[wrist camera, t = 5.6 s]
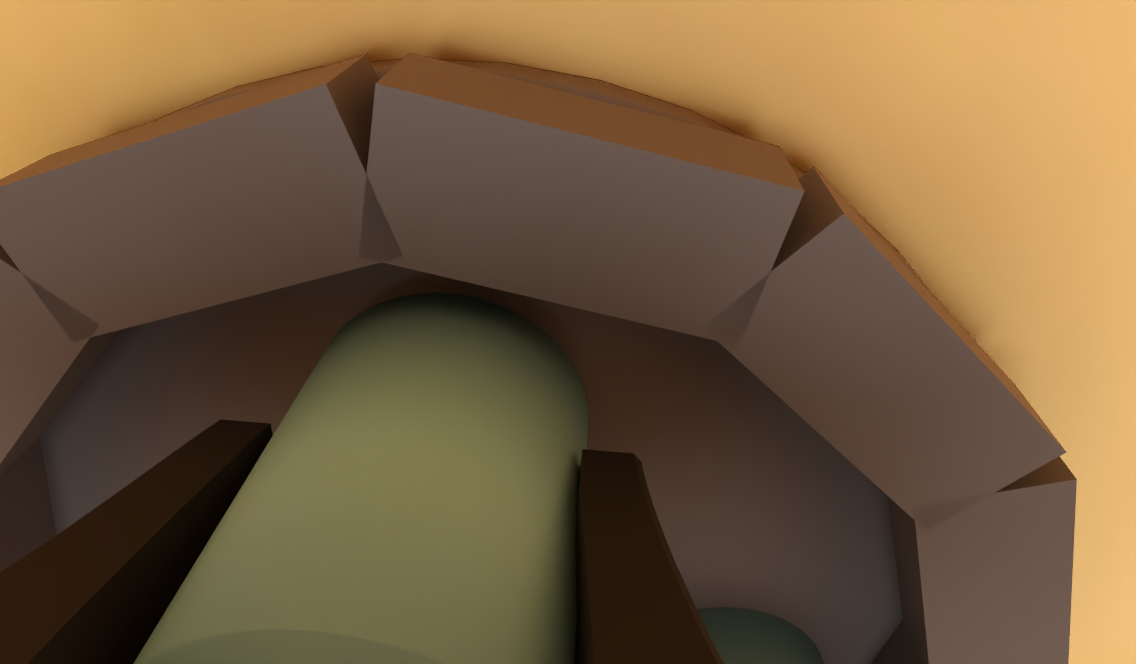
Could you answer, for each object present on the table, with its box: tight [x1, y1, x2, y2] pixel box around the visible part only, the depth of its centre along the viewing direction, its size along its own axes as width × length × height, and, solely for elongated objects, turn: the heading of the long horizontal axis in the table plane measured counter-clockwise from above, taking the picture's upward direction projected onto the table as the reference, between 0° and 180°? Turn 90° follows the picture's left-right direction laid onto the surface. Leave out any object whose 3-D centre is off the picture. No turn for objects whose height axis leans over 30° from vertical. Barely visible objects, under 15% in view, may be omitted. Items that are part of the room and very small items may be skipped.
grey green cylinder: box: [133, 293, 589, 664], centre depth 9 cm, size 4×4×5 cm
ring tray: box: [0, 53, 1077, 664], centre depth 14 cm, size 19×19×2 cm
